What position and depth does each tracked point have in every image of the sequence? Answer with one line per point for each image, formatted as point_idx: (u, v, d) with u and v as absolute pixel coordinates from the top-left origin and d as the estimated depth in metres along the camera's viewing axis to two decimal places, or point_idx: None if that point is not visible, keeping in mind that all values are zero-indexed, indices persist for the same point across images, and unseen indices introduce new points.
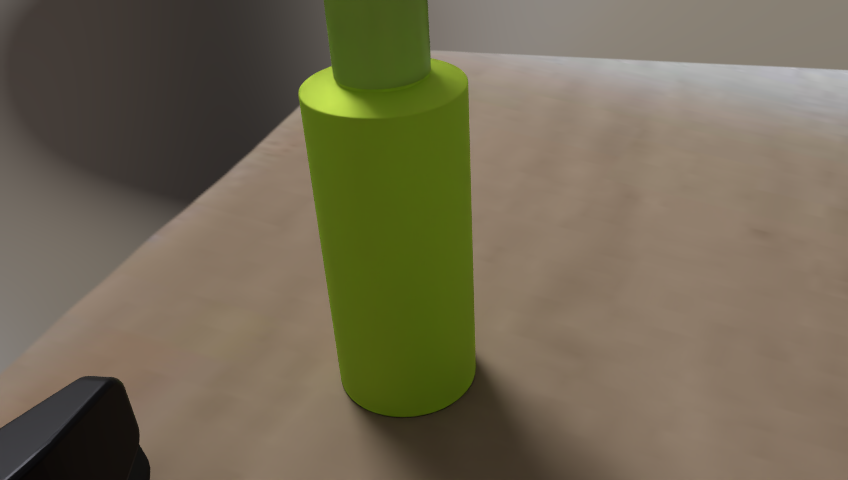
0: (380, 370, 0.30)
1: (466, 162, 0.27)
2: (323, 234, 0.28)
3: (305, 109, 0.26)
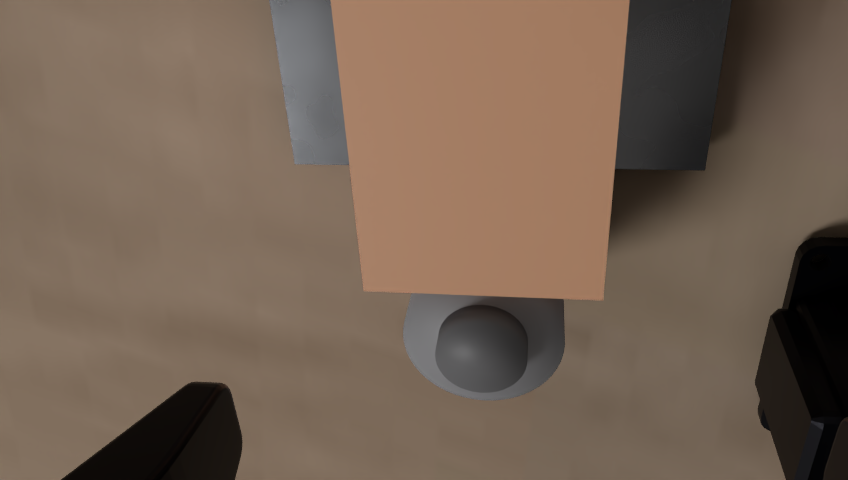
0: None
1: None
2: None
3: None
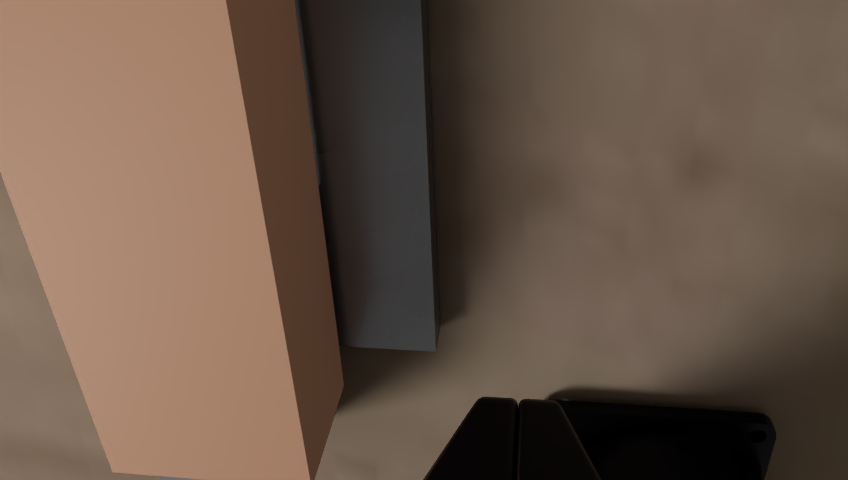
0: None
1: None
2: None
3: None
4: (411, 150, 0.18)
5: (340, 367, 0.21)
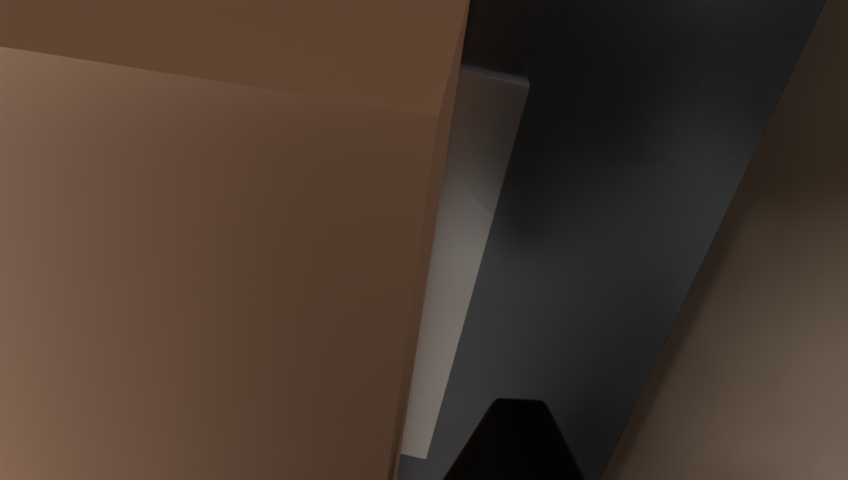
0: None
1: None
2: None
3: None
4: (589, 444, 0.11)
5: None
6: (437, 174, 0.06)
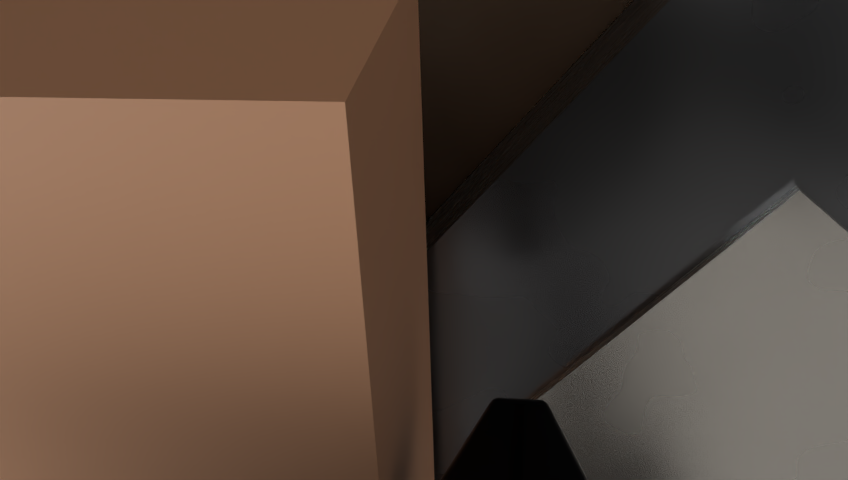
0: None
1: None
2: None
3: None
4: None
5: None
6: (390, 166, 0.06)
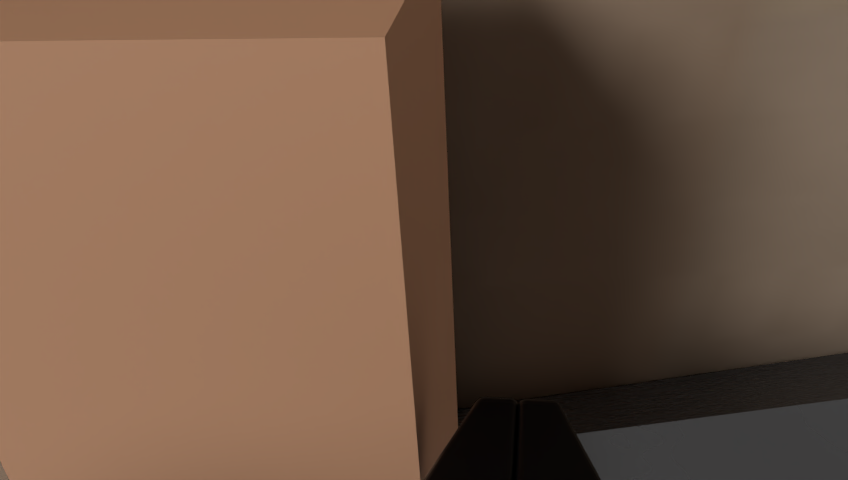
0: None
1: None
2: None
3: None
4: None
5: None
6: (418, 105, 0.08)
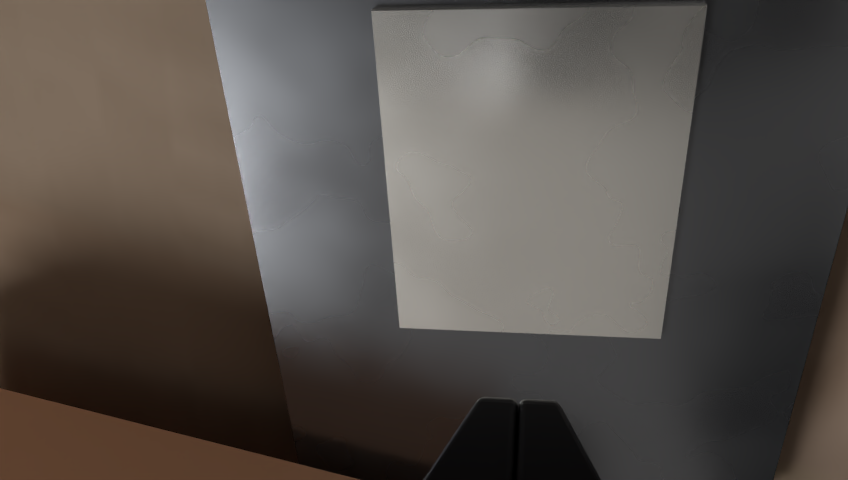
0: None
1: None
2: None
3: None
4: (800, 299, 0.13)
5: None
6: None
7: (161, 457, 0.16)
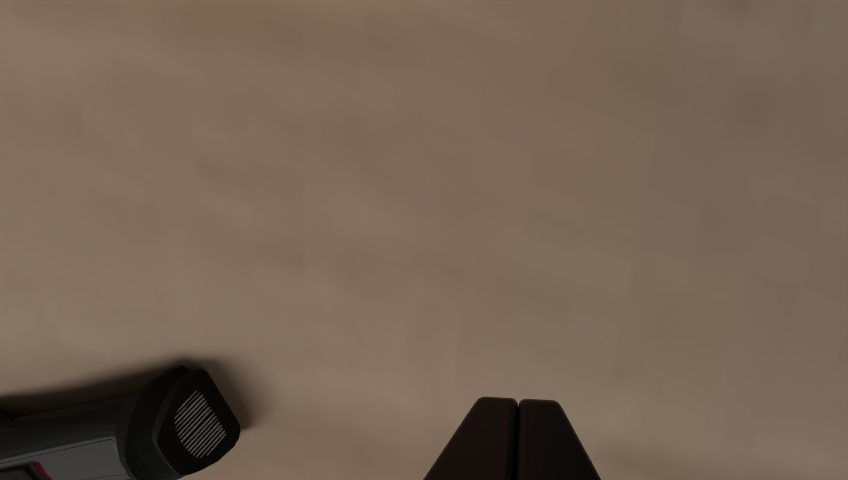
0: None
1: None
2: None
3: None
4: None
5: None
6: None
7: None
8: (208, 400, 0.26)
